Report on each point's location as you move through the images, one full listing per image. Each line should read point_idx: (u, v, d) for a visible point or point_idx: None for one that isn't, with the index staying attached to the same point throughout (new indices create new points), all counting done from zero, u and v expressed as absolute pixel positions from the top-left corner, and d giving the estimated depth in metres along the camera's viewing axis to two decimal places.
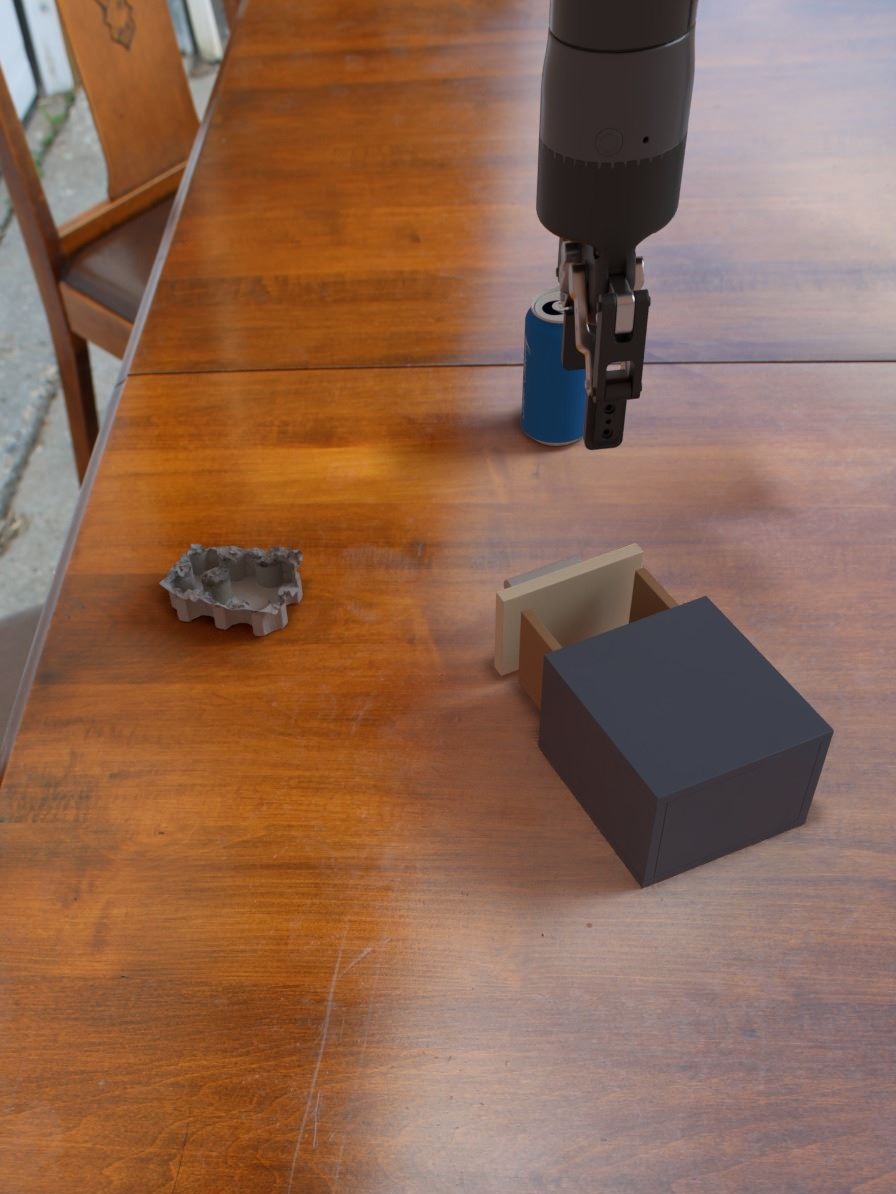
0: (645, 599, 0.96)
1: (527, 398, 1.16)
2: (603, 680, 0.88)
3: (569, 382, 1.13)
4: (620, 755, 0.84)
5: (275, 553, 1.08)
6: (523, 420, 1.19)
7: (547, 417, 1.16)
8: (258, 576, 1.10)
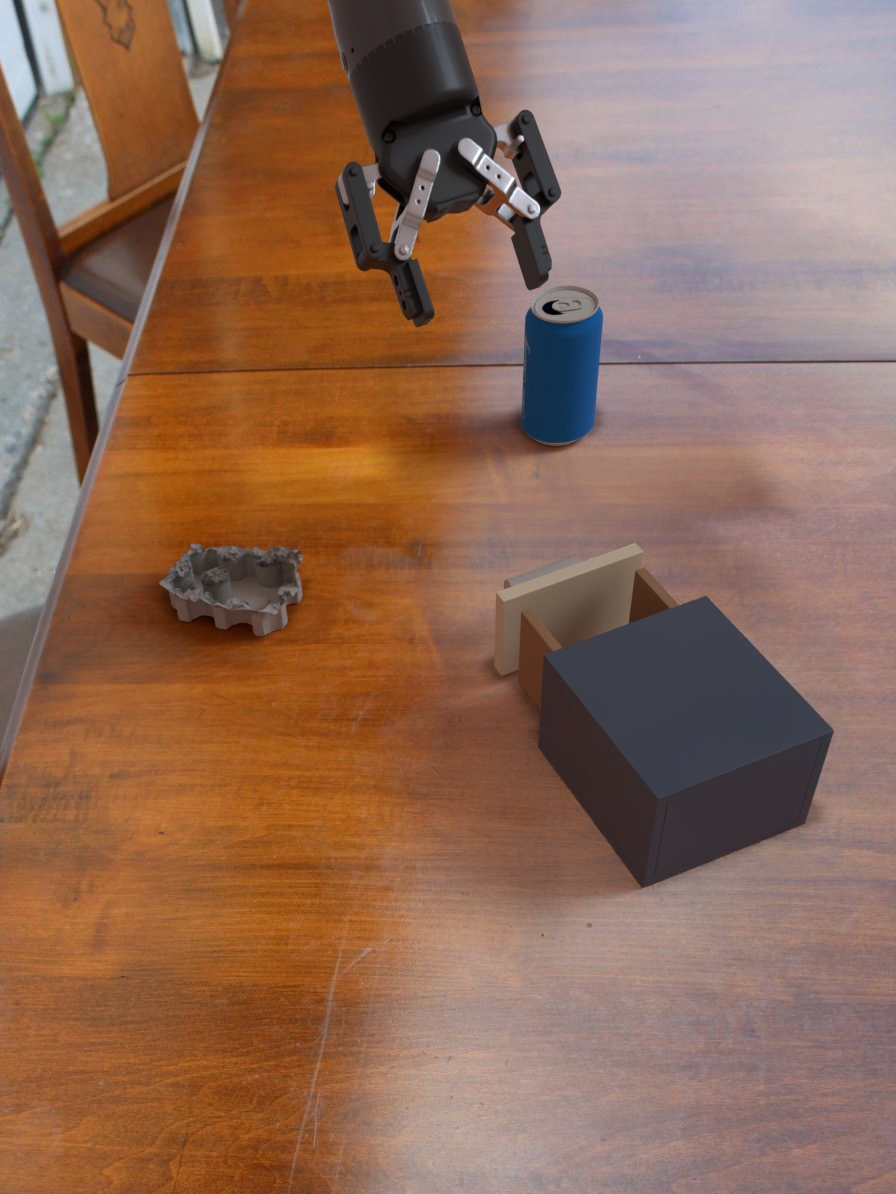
0: (645, 599, 0.96)
1: (527, 398, 1.16)
2: (603, 680, 0.88)
3: (569, 382, 1.13)
4: (620, 755, 0.84)
5: (275, 553, 1.08)
6: (523, 420, 1.19)
7: (547, 416, 1.16)
8: (258, 576, 1.10)
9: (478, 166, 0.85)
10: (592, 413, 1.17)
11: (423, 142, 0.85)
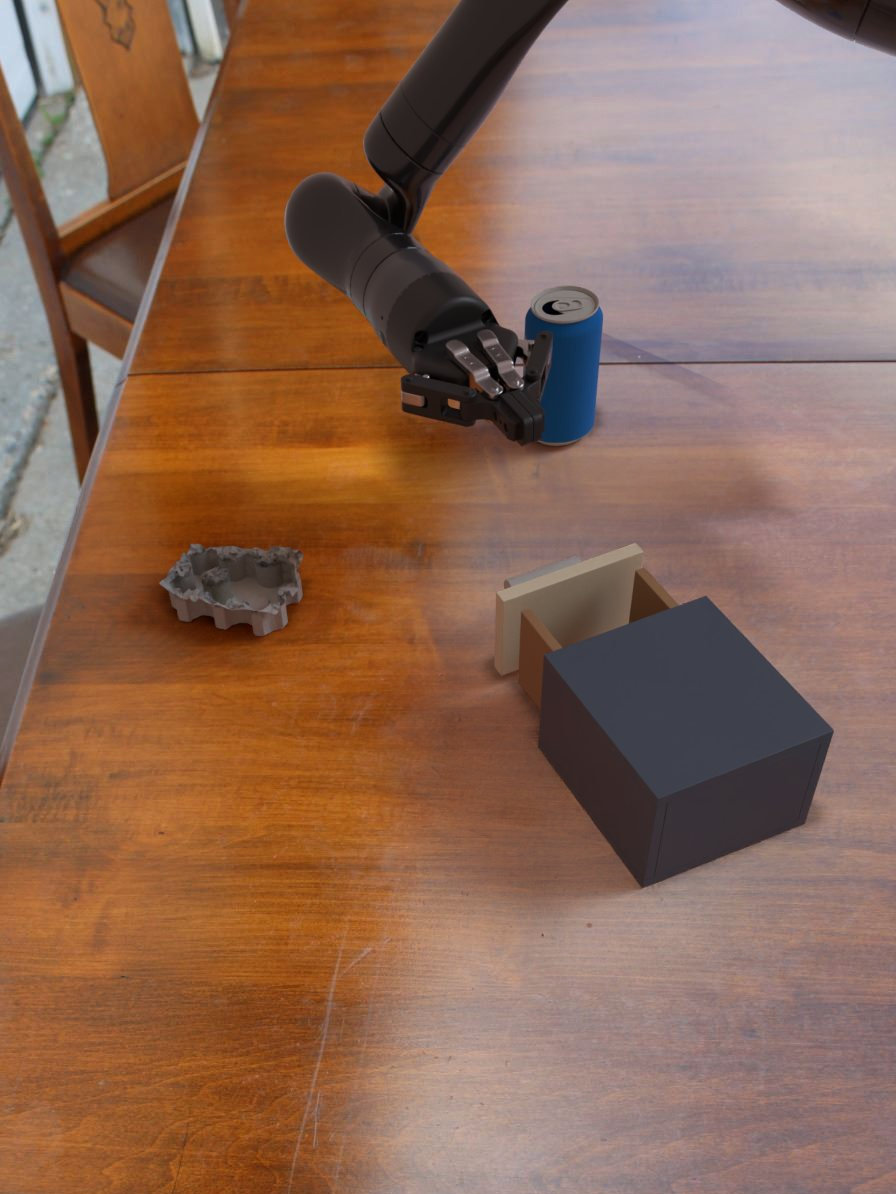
0: (645, 599, 0.96)
1: None
2: (603, 680, 0.88)
3: (569, 382, 1.13)
4: (620, 755, 0.84)
5: (275, 553, 1.08)
6: None
7: (547, 417, 1.16)
8: (258, 576, 1.10)
9: (486, 346, 0.97)
10: (592, 413, 1.17)
11: None
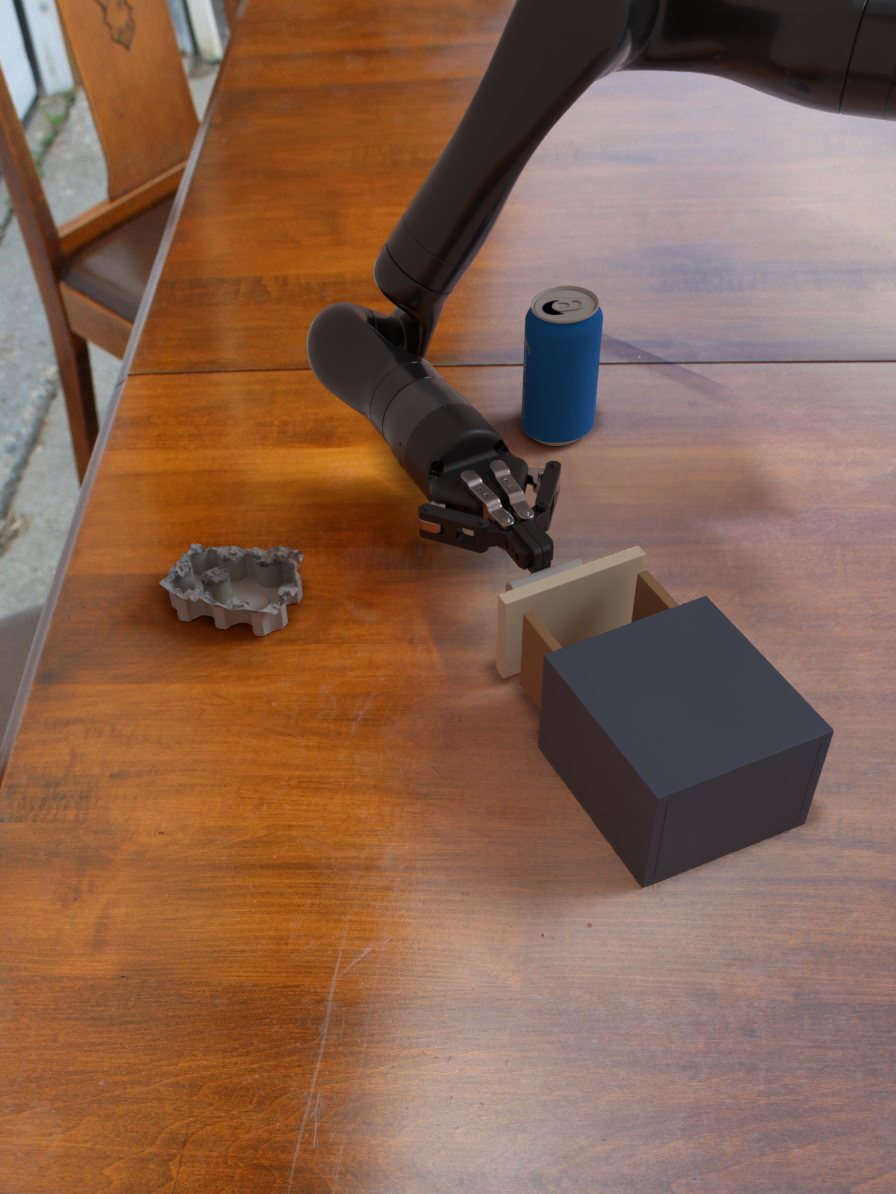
0: (648, 602, 0.96)
1: (527, 398, 1.16)
2: (603, 680, 0.88)
3: (569, 382, 1.13)
4: (620, 755, 0.84)
5: (275, 553, 1.08)
6: (523, 420, 1.19)
7: (547, 417, 1.16)
8: (258, 576, 1.10)
9: (499, 477, 1.04)
10: (592, 413, 1.17)
11: None
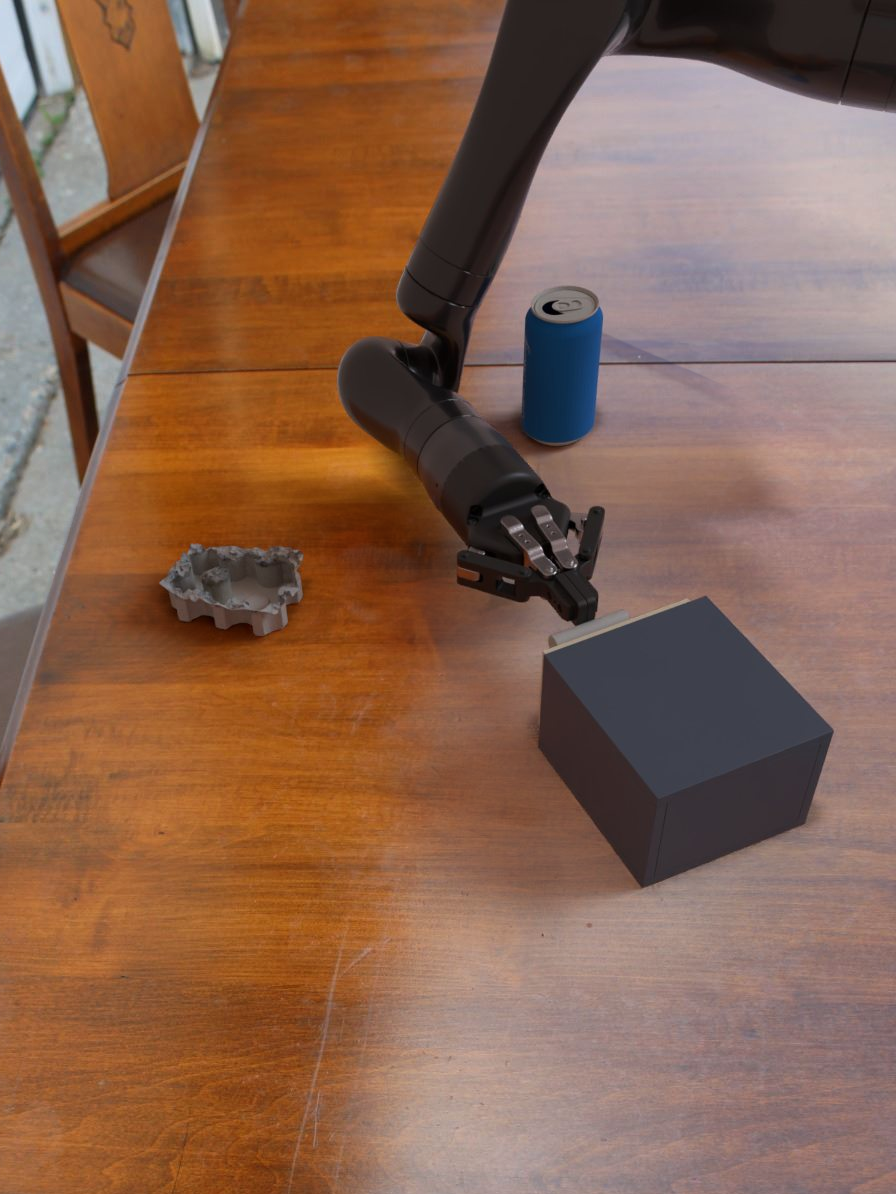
0: None
1: (527, 398, 1.16)
2: (603, 680, 0.88)
3: (569, 382, 1.13)
4: (620, 755, 0.84)
5: (275, 553, 1.08)
6: (523, 420, 1.19)
7: (547, 417, 1.16)
8: (258, 576, 1.10)
9: (540, 523, 1.00)
10: (592, 413, 1.17)
11: None
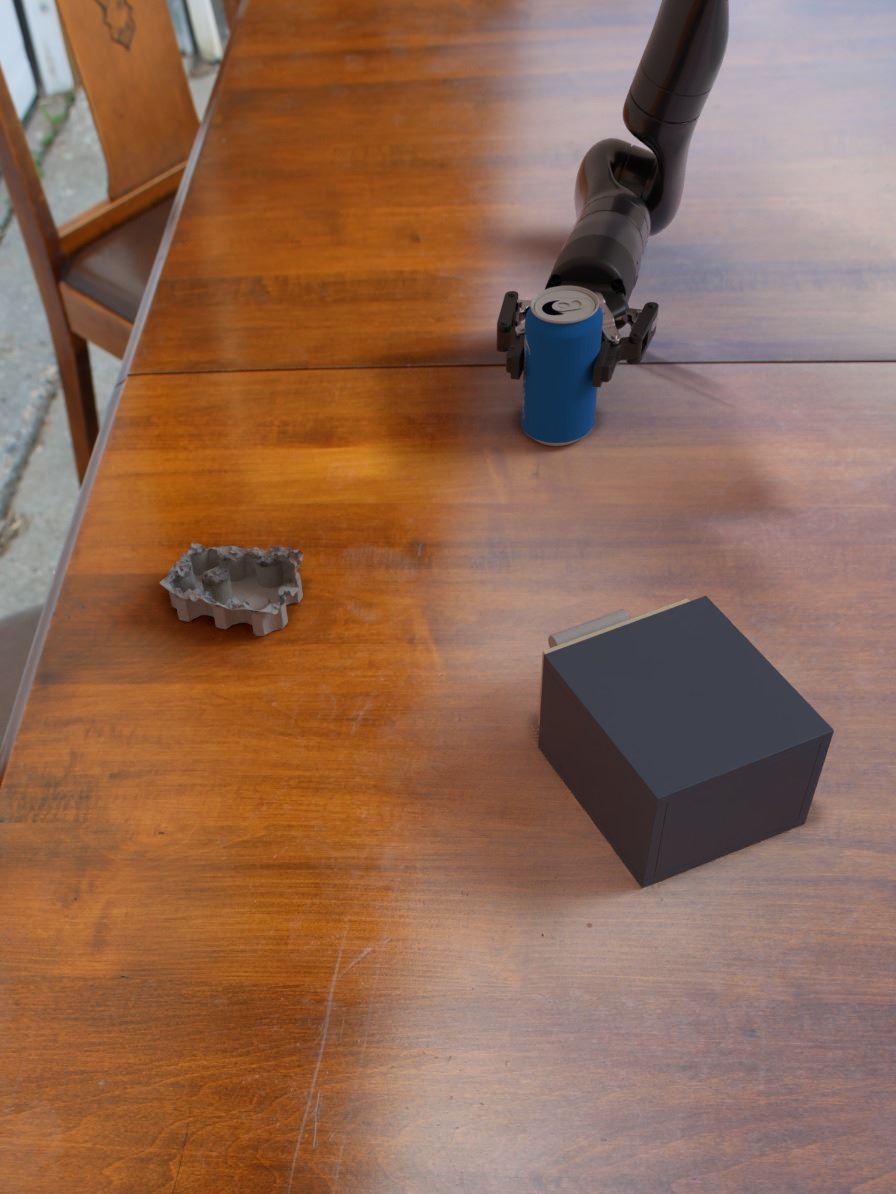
0: None
1: (527, 398, 1.16)
2: (603, 680, 0.88)
3: (569, 382, 1.13)
4: (620, 755, 0.84)
5: (276, 553, 1.08)
6: (523, 420, 1.19)
7: (547, 417, 1.16)
8: (258, 576, 1.10)
9: None
10: (592, 413, 1.17)
11: None
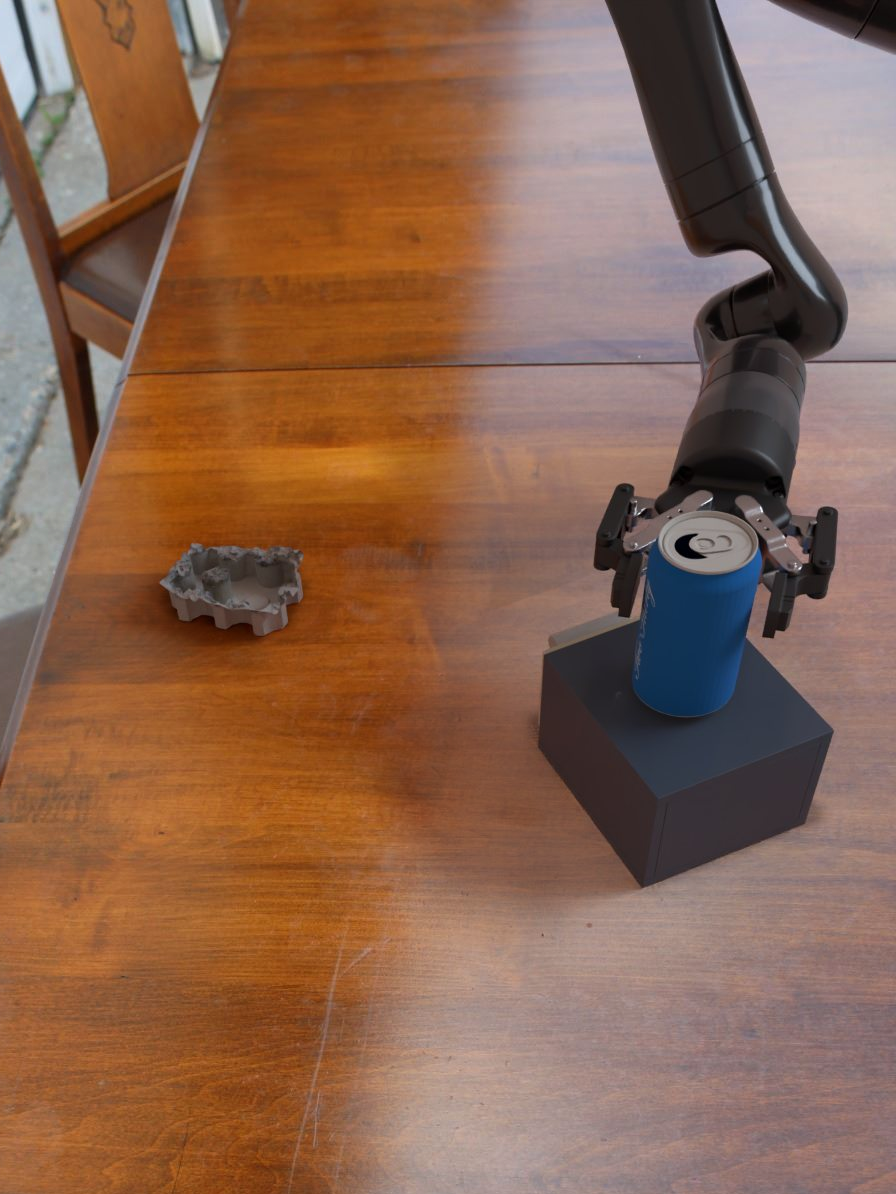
0: None
1: (644, 657, 0.83)
2: (603, 680, 0.88)
3: (710, 646, 0.79)
4: (620, 755, 0.84)
5: (276, 553, 1.08)
6: (636, 681, 0.85)
7: (674, 685, 0.82)
8: (258, 576, 1.10)
9: (749, 517, 0.82)
10: (735, 677, 0.84)
11: None
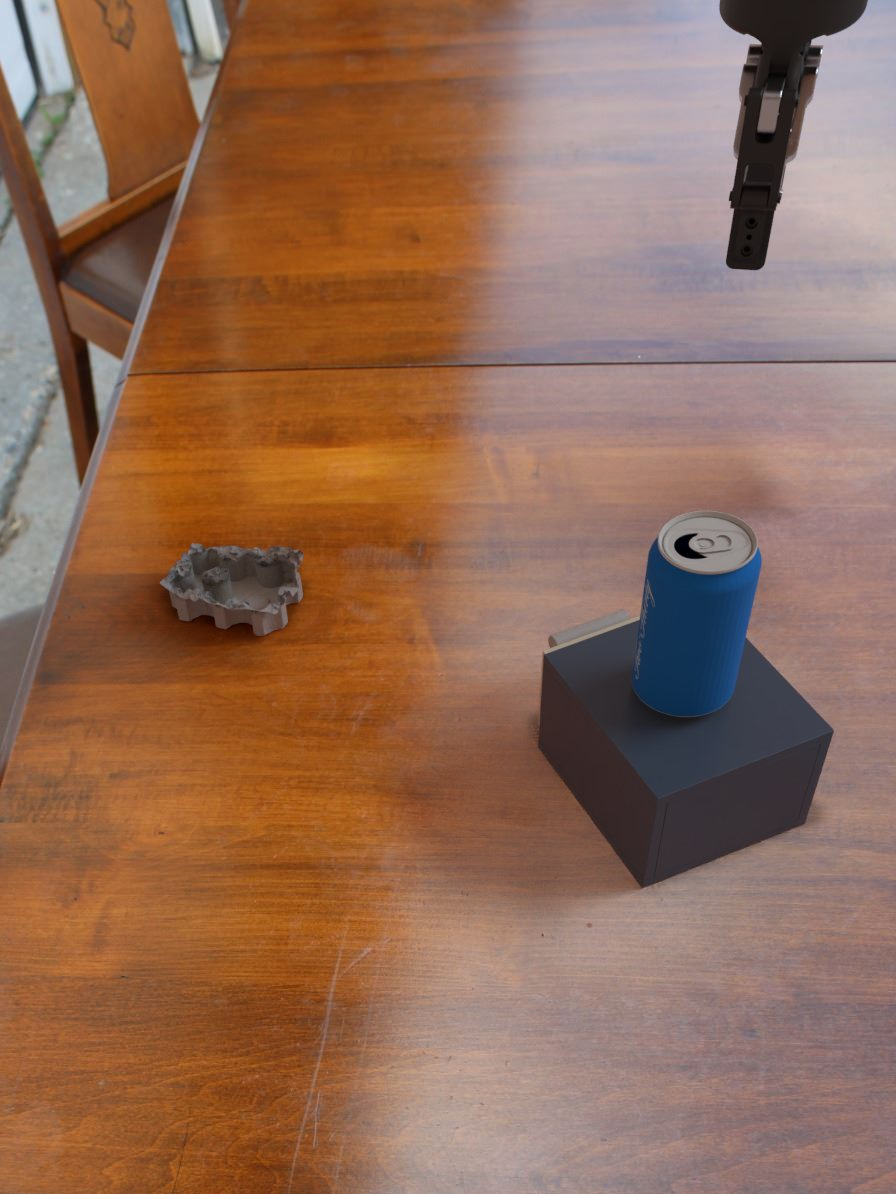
0: None
1: (644, 657, 0.83)
2: (603, 680, 0.88)
3: (710, 646, 0.79)
4: (620, 755, 0.84)
5: (276, 553, 1.08)
6: (636, 681, 0.85)
7: (674, 685, 0.82)
8: (258, 576, 1.10)
9: None
10: (735, 677, 0.84)
11: (805, 49, 0.71)
